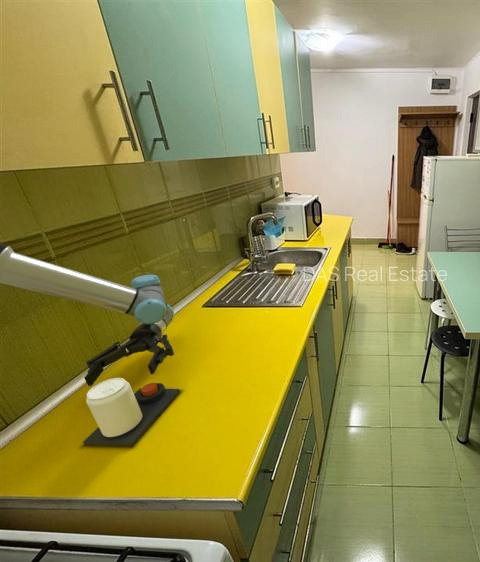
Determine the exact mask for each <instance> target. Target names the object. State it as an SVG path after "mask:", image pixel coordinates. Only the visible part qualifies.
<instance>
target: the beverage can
mask: <svg viewBox="0 0 480 562" xmlns="http://www.w3.org/2000/svg"><path fill="white" fill-rule="evenodd" d="M132 388H133V387H132V386H131V384H130V383H129V381H127V380H126V379H125V378H122V377H113V378H109V379H106V380H104V381H100V382H99V383H97V384H96V385H94V386H93V387H91V388H89V390H88V391H87V393H86V400H85V401H86V405H87V406H88V408H89V410H90V412H91V414H92V416H93V418H94V420H95V423H96V424H97V427H99V428H100V430H101V432H102V434H103V435H104V436H106V437H115V436H119V435H122V434H124V433H126V432H128V431H130V430H131V429H133V428H134V427H135V426H136V425H138V423H139V422H140V421H141V419H142V412H141V410H140V408H139V405H138V403H137V400H136V398H135V396H134V393H135V392H134V391H133V389H132Z"/></svg>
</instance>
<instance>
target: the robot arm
mask: <svg viewBox="0 0 480 562" xmlns="http://www.w3.org/2000/svg"><path fill="white" fill-rule="evenodd" d="M0 284H3V285H8V286H13V287H16V288H20V289H24V290H29V291H33V292H36V293H40V294H44V295H48V296H52V297H56V298H60V299H63V300H68V301H73V302H77V303H81V304H85V305H89V306H93V307H97V308H100V309H105V310H109V311H113V312H115V313H116V312H117V313H120V314H124V315H129V316H132V317H135V319H136V320H137V321H138V322H139V323H138V325H136V327H135V328H134V330H133V331H132V332H131V334H130V336H129V339H128V341H125V342H124V343H121V342H119V341H116V342H114V343H113V344H112V345H111V346H109V347H108V348H106V349H105V350H103V351H102V352H100V353H98V354H96V355H95V356H93V357H92V358H90V359H88V360H87V361H86V365H87V367H88V370H87V374H86V375H85V376H84V378H83V379H84V381H85V382H86V385H87V386H88V387H91V386H93V385H94V384H95V382H96V381H97V380H98V378H99V377H100V376H101V374H102V373H103V372H104V371H105V368H106V367H107V366H110V365H111V364H114V363H115V362H117V361H119V360H121V359H123V358H124V357H125V358H127V357H130V356H131V355H133V354H137V353H143V352H149V353H152V354H153V355H152V357H151V359H150V361H149V363H148V365H147V369H148V371H149V375H154V374H155V372H156V371H157V368H158V367H159V365H160V364H162V363H163V362H164V360H165V359H166V358H167V356H169V357H172V356H174V355H175V352H174V349H173V346H172V344H171V342H170V340H169V337H168V334H167V333H166V334H165V332H166V331H167V328H168V327H169V326H170V324H171V323H172V321H173V318H174V315H175V310H174V308H173V307H172V306H171V305H170V304H169V303H168V302H167V300H166V297H165V292H164V290H163V286H162V282H161V281H160V278H159V276H158V275H156V274H144V275H140V276H137V277H135V278H133V279H131V284H130V285H131V287H130V286H127V285H124V284H120V283H117V282H113V281H110V280H107V279H104V278H100V277H97V276H95V275H94V276H93V275H90V274H87V273H83V272H80V271H77V270H74V269H71V268H68V267H63V266H60V265H57V264H54V263H52V262H51V263H50V262H48V261H44V260H40V259H37V258H34V257H31V256H28V255H24V254H22V253H17V252H15V251H14V250H13V248H12V247H11V246H10V245H9V246H6V245H3V244H0ZM159 343H160V344H161V345H162V346H163V347H161V346H159V345H158V344H159Z"/></svg>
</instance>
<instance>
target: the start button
mask: <svg viewBox="0 0 480 562" xmlns="http://www.w3.org/2000/svg"><path fill="white" fill-rule="evenodd" d="M156 383H157V382H149V383H147V384H145V385H143V386H142V387H140V388H141V392H142V394H143V396H145V397H147V396H151V395H153V394H155V393H156V392H157V391H158V387H157V384H156Z"/></svg>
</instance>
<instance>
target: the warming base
mask: <svg viewBox="0 0 480 562" xmlns="http://www.w3.org/2000/svg"><path fill="white" fill-rule="evenodd" d="M155 383H156V384H157V387H158V391H157V392H156V393H155V394H153V395H151V396H147V397H145V396H143V394H142V392H141V388H142V387H140V388H138V389H137V390H136V391H135V392H133V393H134V396H135V398H136V400H137V403H138V405H139V408H140V410H141V412H142V419H141V421H140V422H139V423H138V425H136V426H135V427H134V428H133V429H131V430H130V431H128V432H126V433H124V434H122V435H119V436H115V437H106V436H104V435H103V434H102V432H101V430H100V428H99V426H97V428H96V429H95V430H93V431H92V432H91V434H90V435H88V436H87V437H86V438H85V439H84V440H83V441H82V443H83V445H84V446H89V447H90V446H91V447H92V446H95V447H124V448H127V447H128V448H133V447H134V446H135V445H136V444H137V442H138V441H139V440H140V439H141V438H142V437H143V436H144V435H145V433H146V432H147V431H148V430H149V429H150V427H151V426H152V425H154V423H155V422H156V421H157V420H158V418H160V416H162V414H163V413H164V412H165V410H166V409H168V407H169V406H170V405H171V404H172V402H174V401H175V399H176V398H177V397H178V395H180V394H181V389H180V388H166V386H165V385H164V384H163V383H162V382H155Z"/></svg>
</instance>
